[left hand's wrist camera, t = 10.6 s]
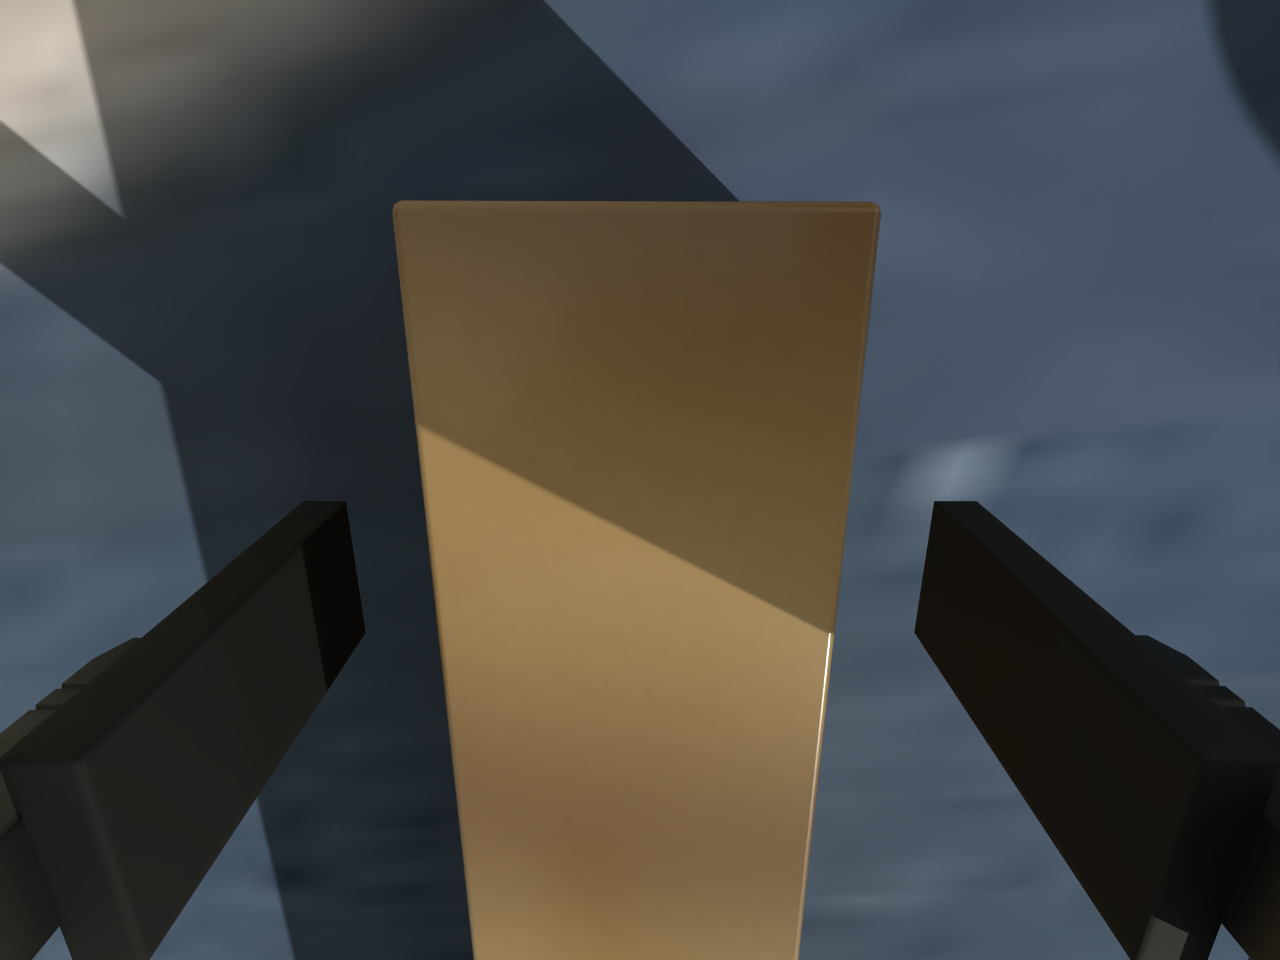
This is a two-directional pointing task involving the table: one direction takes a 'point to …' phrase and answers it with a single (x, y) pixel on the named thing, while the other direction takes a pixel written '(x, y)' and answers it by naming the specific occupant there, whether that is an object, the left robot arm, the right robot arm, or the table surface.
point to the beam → (636, 554)
